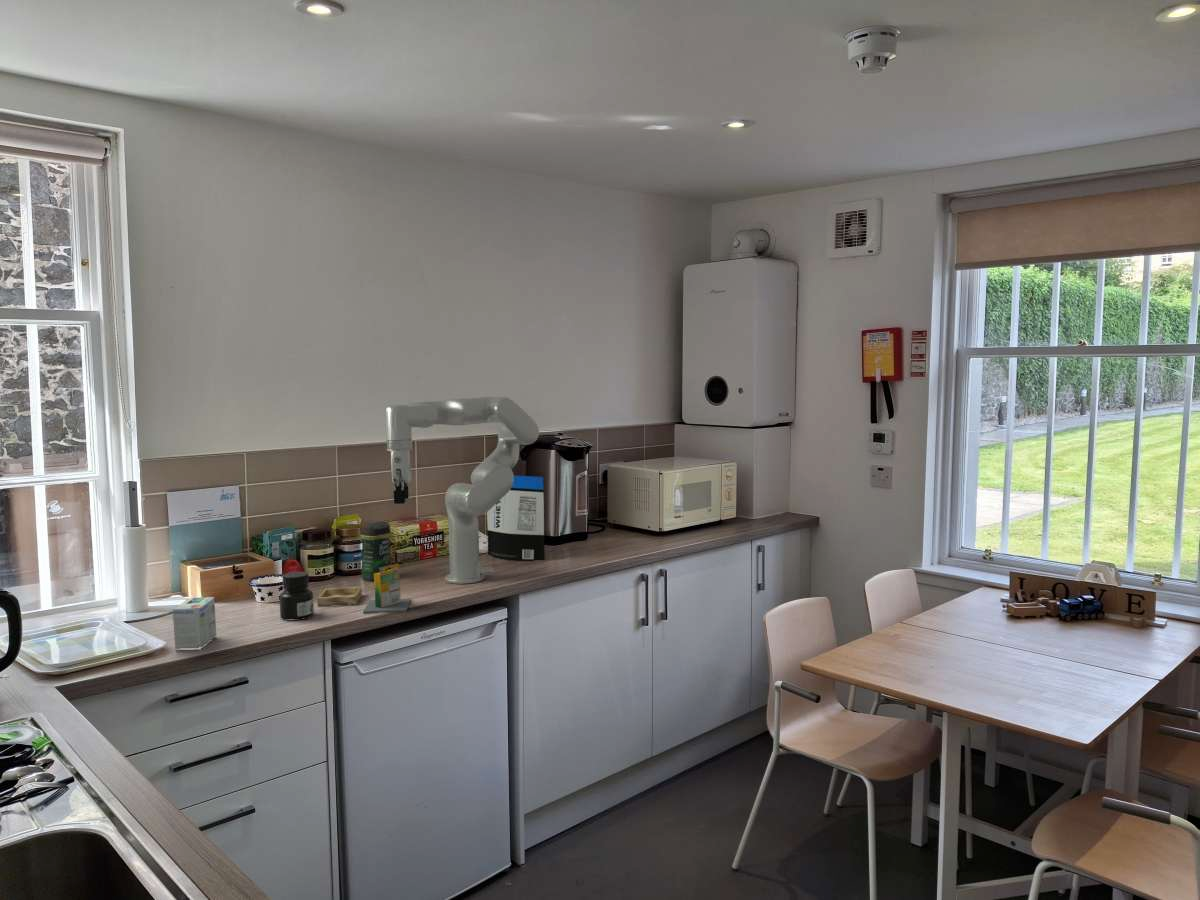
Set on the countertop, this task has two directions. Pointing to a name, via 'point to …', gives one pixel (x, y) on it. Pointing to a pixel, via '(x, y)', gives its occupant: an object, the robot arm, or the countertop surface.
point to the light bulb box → (194, 622)
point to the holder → (339, 596)
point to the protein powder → (518, 522)
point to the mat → (388, 607)
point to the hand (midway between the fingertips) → (401, 501)
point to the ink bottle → (296, 596)
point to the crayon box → (387, 586)
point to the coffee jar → (375, 548)
